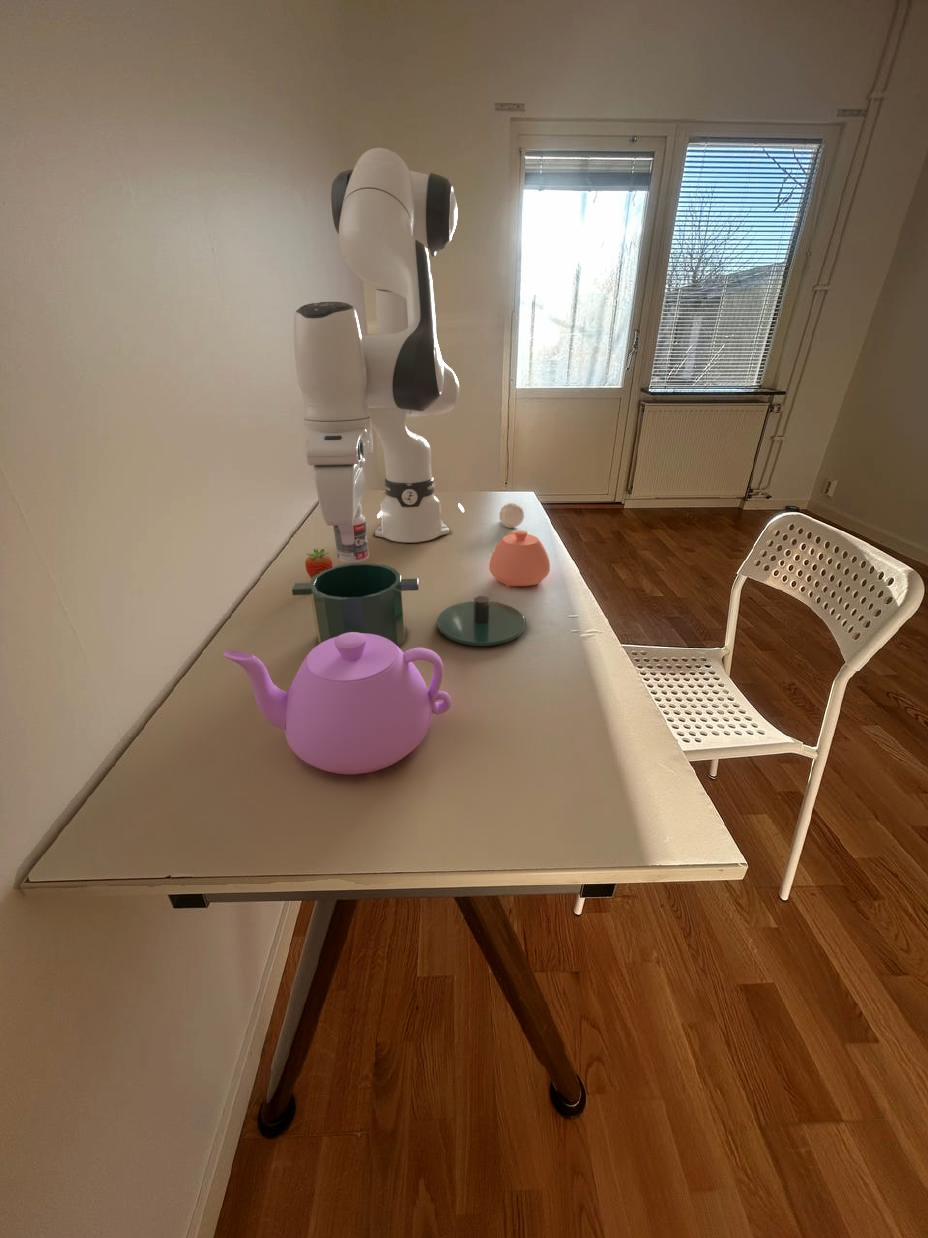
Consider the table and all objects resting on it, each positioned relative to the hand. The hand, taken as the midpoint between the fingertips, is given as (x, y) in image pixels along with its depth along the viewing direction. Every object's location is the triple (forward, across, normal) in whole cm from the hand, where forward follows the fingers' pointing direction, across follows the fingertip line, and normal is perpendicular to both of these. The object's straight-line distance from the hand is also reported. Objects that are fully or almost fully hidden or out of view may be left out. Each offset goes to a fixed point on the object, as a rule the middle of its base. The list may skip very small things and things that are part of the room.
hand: (351, 536), depth 77 cm
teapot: (+18, +24, +1) cm, 30 cm away
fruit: (+18, -22, -10) cm, 30 cm away
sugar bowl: (+18, -22, +30) cm, 41 cm away
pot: (+18, 0, 0) cm, 18 cm away
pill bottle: (+4, 0, 0) cm, 4 cm away
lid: (+17, -2, +20) cm, 26 cm away
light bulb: (+18, -57, +34) cm, 69 cm away
